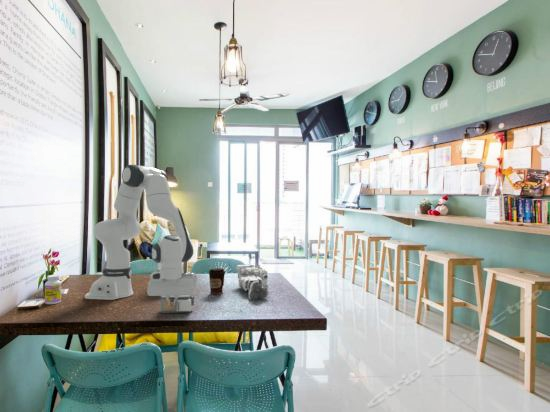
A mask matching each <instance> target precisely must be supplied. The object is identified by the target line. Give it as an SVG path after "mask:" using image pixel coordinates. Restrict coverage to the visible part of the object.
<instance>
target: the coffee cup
mask: <svg viewBox="0 0 550 412" xmlns="http://www.w3.org/2000/svg"><path fill="white" fill-rule="evenodd" d="M208 275H209V276H208V277H209V278H208V279H209V288H210V294H211V295H222V294H224V292H223V287H224V285H225V276H226V271H225V268H223V267H222V268H221V267H216V268H214V267H213V268H210V270H209V271H208Z"/></svg>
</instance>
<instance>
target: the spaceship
mask: <svg viewBox="0 0 550 412" xmlns="http://www.w3.org/2000/svg"><path fill="white" fill-rule="evenodd" d="M235 269H236V272H237V279H238V288H240V289H242V290H244V291H245V292H247V291H248V299H250V300H252V301H256V300H258V299H259V297H260V298H261V299H265V297H267V296H268V294H269V293H268V291H269V284H268V278H269V276H268V271H267V270H266V269H263V267H261V265H260V264H255V265H253V264H247V263H246V264H237V265H236V268H235Z"/></svg>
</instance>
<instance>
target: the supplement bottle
mask: <svg viewBox="0 0 550 412" xmlns="http://www.w3.org/2000/svg"><path fill="white" fill-rule="evenodd" d="M46 279H47V281H45V283H44V304H45V305H56V304H57V305H58V304H60V303H61V302H62V281H61V280H59V279H60V275H58V274H50V275H47V277H46Z"/></svg>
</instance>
